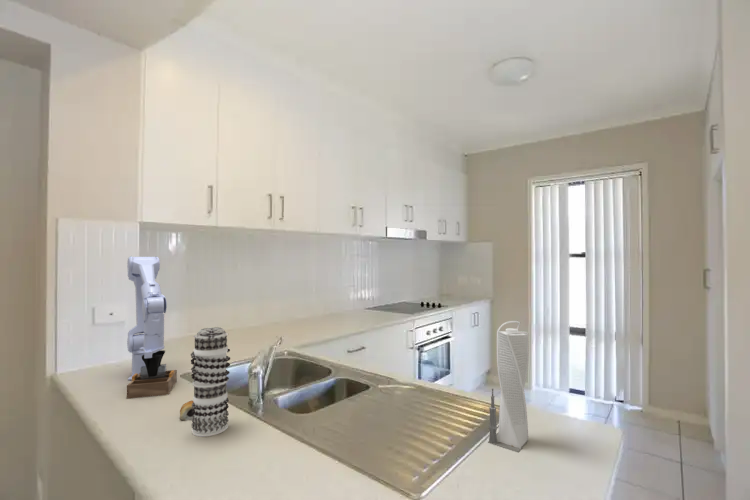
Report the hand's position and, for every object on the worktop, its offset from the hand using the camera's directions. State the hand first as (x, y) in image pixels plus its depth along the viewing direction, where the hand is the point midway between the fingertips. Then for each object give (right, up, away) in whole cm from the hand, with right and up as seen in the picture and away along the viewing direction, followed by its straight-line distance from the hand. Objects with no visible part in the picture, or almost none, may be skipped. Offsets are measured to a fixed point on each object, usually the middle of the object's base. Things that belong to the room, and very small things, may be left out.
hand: (153, 375), depth 123 cm
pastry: (+22, -5, -20) cm, 30 cm away
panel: (0, -3, 0) cm, 3 cm away
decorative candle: (+31, -4, -29) cm, 43 cm away
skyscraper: (+105, -4, -36) cm, 111 cm away
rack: (0, -5, 0) cm, 5 cm away
